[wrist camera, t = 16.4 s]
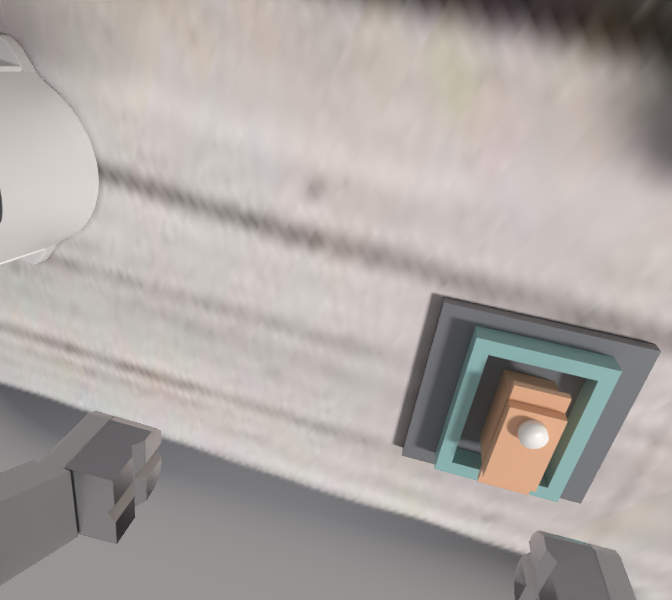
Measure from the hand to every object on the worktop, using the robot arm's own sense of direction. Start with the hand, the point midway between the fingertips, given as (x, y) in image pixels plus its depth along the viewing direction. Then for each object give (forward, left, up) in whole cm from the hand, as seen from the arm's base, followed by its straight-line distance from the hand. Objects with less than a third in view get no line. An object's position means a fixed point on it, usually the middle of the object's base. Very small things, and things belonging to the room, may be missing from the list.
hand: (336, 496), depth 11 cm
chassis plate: (+12, -16, -29) cm, 35 cm away
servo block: (+12, -16, -28) cm, 34 cm away
